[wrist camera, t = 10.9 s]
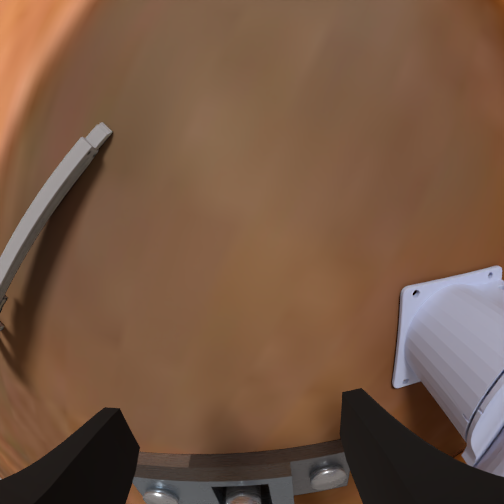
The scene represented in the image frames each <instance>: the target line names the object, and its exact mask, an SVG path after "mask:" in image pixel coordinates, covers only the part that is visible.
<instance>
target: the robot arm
mask: <svg viewBox="0 0 504 504" xmlns="http://www.w3.org/2000/svg"><path fill="white" fill-rule="evenodd" d="M488 275H489V276H488ZM501 278H502V268H501V267H500V266H493V267H489V268H485V269H481V270H477V271H473V272H469V273H465V274H460V275H456V276H452V277H447V278H443V279H438V280H433V281H429V282H424V283H419V284H414V285H409V286H406V287H404V288H403V289H402V291H401V294H400V312H399V326H398V338H397V348H396V357H395V365H394V372H393V380H392V385H393V386H394V387H395V388H401V387H404V386H407V385H411V384H414V383H417V382H420V381H421V382H422V383H423V385H424V386H425V387H426V389H427V390H428V391H429V392H430V394H431V395H432V396H433V398H434V399H435V400H436V402H437V403H438V404H439V406H440V407H441V408H442V410H443V411H444V413H445V414H446V415H447V417H448V418H449V419H450V421H451V422H452V423H453V425H454V426H455V428H456V429H457V430H458V432H459V433H460V435H461V436H462V437H463V439H464V440H465V442H466V443H467V446H466V448H465V450H464V452H463V453H462V455H461V456H462V457H463V459H464V460H465V462H466V463H467V464H465V463H463V462H461V461H459V460H456V459H454V458H453V457H451V456H449V455H447V454H445V453H443V452H441V451H440V450H438V449H436V448H435V447H433V446H432V445H430V444H429V443H427V442H426V441H424V440H423V439H421V438H420V437H418V436H417V435H416V434H414V433H413V432H411V431H410V430H409V429H408V428H406V427H405V426H404V425H403V424H401V423H400V422H399V421H398V420H396V419H395V418H394V417H393V416H392V415H390V414H389V413H388V412H387V411H386V410H385V409H384V408H382V407H381V406H380V405H379V404H378V403H377V402H376V401H375V400H374V399H373V398H372V397H371V396H370V395H368V394H367V393H366V392H365V391H364V390H363V389H362V388H360V389H355V390H351V391H346V392H342V410H341V425H340V437H341V441H342V445H343V449H344V453H345V457H346V461H347V463H348V466H349V469H350V471H351V474H352V476H353V479H354V481H355V484H356V487H357V489H358V492H359V494H360V497H361V499H362V502H363V504H504V281H503V280H501ZM415 290H417V292H416V294H415V295H413V292H414V291H415ZM405 379H406V380H405ZM404 380H405V381H404ZM139 449H140V447H139V445H138V443H137V441H136V439H135V438H134V436H133V434H132V432H131V430H130V428H129V426H128V424H127V422H126V420H125V418H124V416H123V414H122V412H121V410H120V408H106V407H105V408H103V409H102V410H101V411H99V412H98V413H97V414H96V415H95V416H93V417H92V418H91V419H90V420H89V421H87V422H86V423H85V424H84V425H83V426H82V427H80V428H79V429H78V430H77V431H76V432H74V433H73V434H72V435H71V436H70V437H68V438H67V439H66V440H65V441H64V442H62V443H61V444H60V445H58V446H57V447H56V448H54V449H53V450H52V451H50V452H49V453H48V454H46V455H45V456H44V457H42V458H41V459H39V460H38V461H36V462H35V463H33V464H32V465H30V466H28V467H26V468H25V469H23V470H21V471H19V472H17V473H15V474H13V475H11V476H9V477H6V478H4V479H2V480H0V504H125V503H126V500H127V497H128V494H129V491H130V488H131V485H132V482H133V479H134V475H135V472H136V467H137V462H138V456H139Z"/></svg>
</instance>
